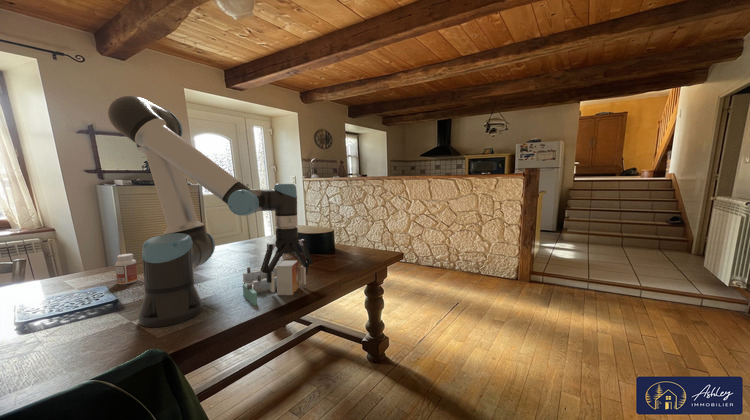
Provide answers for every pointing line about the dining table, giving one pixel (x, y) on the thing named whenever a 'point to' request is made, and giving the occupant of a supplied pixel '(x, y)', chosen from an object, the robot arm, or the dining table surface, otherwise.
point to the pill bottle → (126, 269)
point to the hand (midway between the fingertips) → (288, 287)
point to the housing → (258, 280)
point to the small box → (287, 277)
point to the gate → (250, 294)
